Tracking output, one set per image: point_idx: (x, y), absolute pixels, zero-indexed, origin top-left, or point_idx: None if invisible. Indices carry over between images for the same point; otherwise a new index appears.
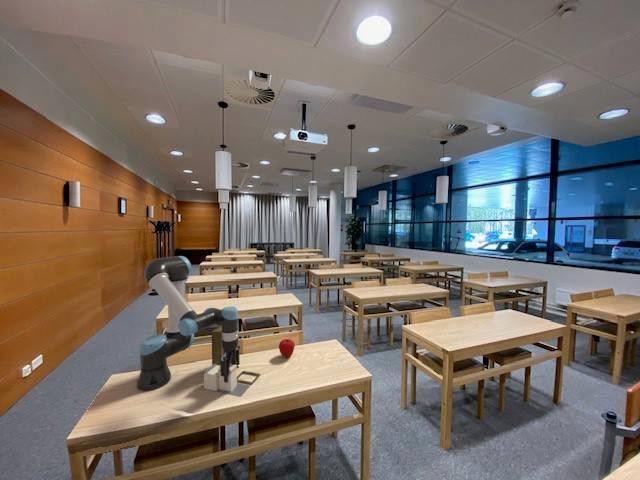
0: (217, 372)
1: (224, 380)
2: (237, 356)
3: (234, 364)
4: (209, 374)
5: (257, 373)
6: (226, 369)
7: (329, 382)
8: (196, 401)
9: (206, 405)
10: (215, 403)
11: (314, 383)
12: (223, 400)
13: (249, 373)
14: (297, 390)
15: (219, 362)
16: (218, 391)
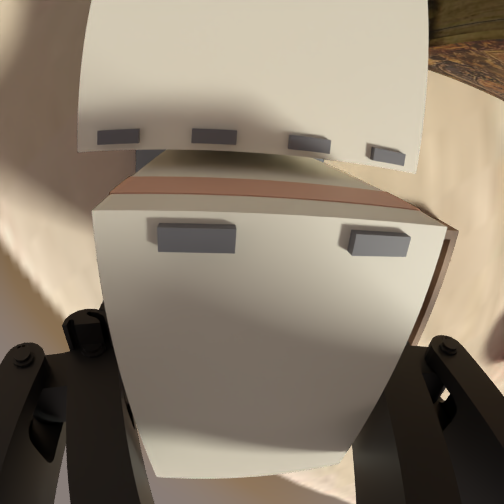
0: (178, 114)
1: (104, 310)
2: (463, 501)
3: (349, 444)
4: (93, 2)
5: (415, 343)
6: (54, 497)
7: (339, 494)
8: (30, 56)
9: (13, 166)
10: (48, 215)
11: (335, 483)
12: (94, 252)
13: (429, 286)
14: (292, 476)
15: (497, 12)
16: (144, 162)
